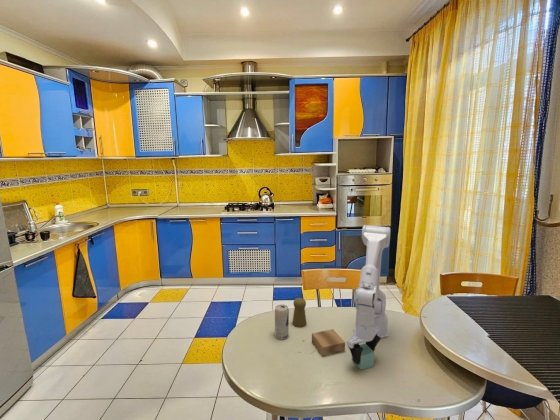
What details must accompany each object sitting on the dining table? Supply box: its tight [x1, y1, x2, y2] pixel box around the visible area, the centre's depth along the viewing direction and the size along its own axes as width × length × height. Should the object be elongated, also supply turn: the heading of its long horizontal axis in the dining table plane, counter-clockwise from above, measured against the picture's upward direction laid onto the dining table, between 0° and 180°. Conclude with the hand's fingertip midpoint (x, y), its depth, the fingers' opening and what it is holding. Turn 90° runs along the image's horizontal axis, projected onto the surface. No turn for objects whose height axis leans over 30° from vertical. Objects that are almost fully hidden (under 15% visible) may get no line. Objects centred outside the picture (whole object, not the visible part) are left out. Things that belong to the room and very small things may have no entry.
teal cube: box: [351, 343, 375, 370], centre depth 103 cm, size 5×5×5 cm
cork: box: [291, 297, 308, 329], centre depth 127 cm, size 6×6×11 cm
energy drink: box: [274, 304, 290, 340], centre depth 118 cm, size 5×5×12 cm
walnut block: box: [311, 328, 346, 358], centre depth 112 cm, size 9×9×4 cm
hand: (362, 358), depth 103 cm, fingers closed on teal cube, 6 cm apart
